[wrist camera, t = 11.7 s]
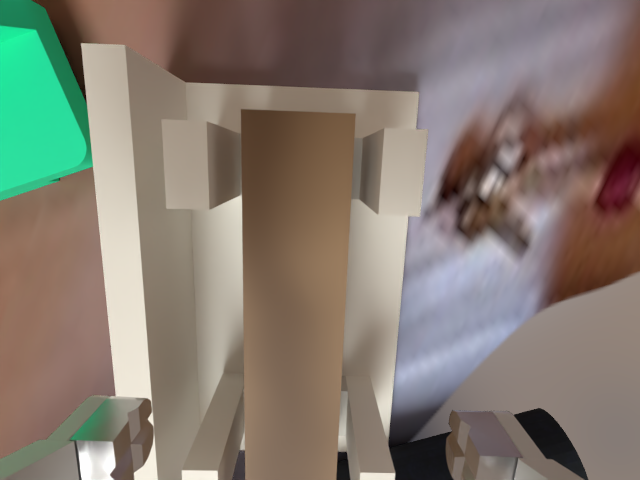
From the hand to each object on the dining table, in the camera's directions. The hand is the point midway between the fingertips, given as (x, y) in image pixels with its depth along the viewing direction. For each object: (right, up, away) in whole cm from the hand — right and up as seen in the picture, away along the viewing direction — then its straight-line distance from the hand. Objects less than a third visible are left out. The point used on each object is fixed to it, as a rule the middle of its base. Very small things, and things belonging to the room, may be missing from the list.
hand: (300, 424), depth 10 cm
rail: (-1, +2, +10) cm, 10 cm away
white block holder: (-1, +2, +12) cm, 12 cm away
